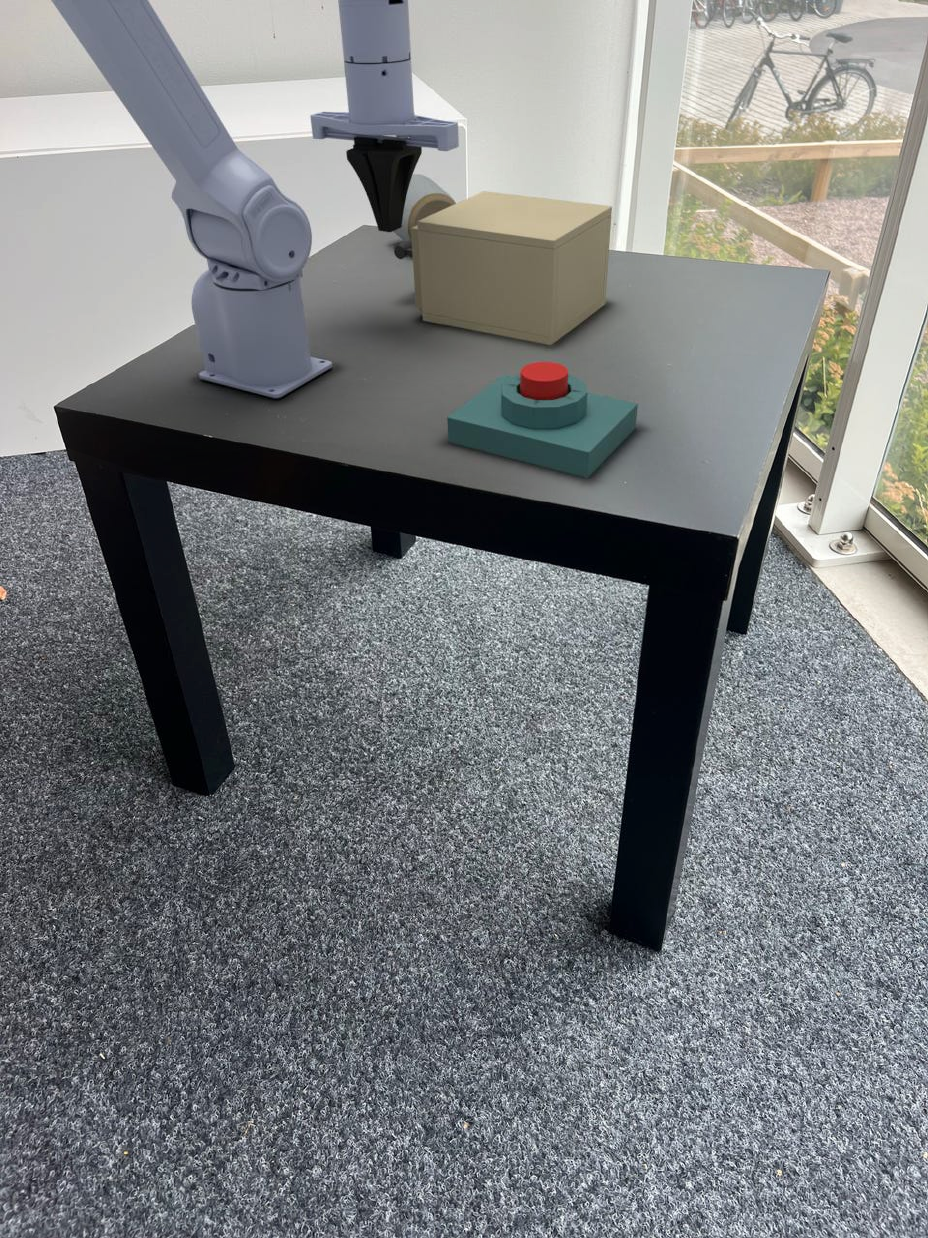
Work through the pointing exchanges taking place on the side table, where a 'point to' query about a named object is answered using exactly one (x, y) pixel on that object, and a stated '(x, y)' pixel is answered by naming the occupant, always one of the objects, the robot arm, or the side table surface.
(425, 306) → the tan drawer box
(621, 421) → the panel
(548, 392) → the button
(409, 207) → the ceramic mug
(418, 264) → the pulled-out drawer
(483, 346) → the side table surface
